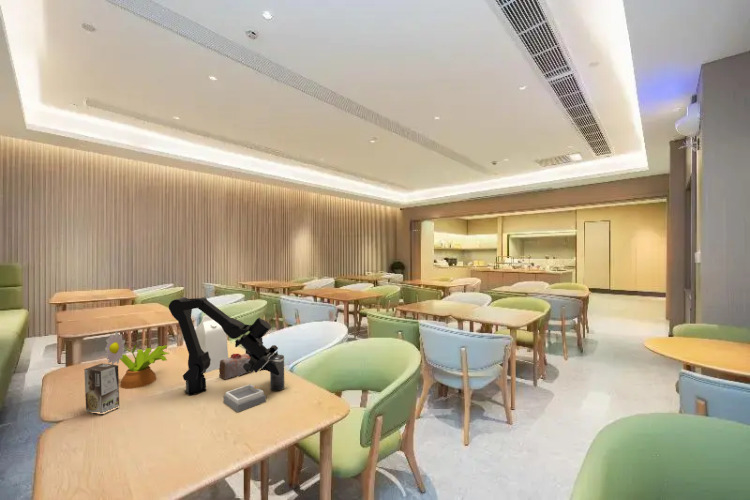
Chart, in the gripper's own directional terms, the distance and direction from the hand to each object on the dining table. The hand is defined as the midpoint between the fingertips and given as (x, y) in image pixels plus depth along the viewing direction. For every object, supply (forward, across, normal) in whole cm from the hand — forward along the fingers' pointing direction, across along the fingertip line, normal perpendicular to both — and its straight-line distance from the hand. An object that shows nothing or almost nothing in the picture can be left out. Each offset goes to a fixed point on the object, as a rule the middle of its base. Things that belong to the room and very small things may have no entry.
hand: (280, 371), depth 142 cm
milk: (-24, -29, -35) cm, 51 cm away
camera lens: (-8, -27, -19) cm, 34 cm away
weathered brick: (-12, -18, -23) cm, 31 cm away
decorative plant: (-40, -12, -51) cm, 66 cm away
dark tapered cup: (+4, 0, -6) cm, 7 cm away
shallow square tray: (-3, +11, -13) cm, 17 cm away
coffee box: (-38, +14, -49) cm, 64 cm away
